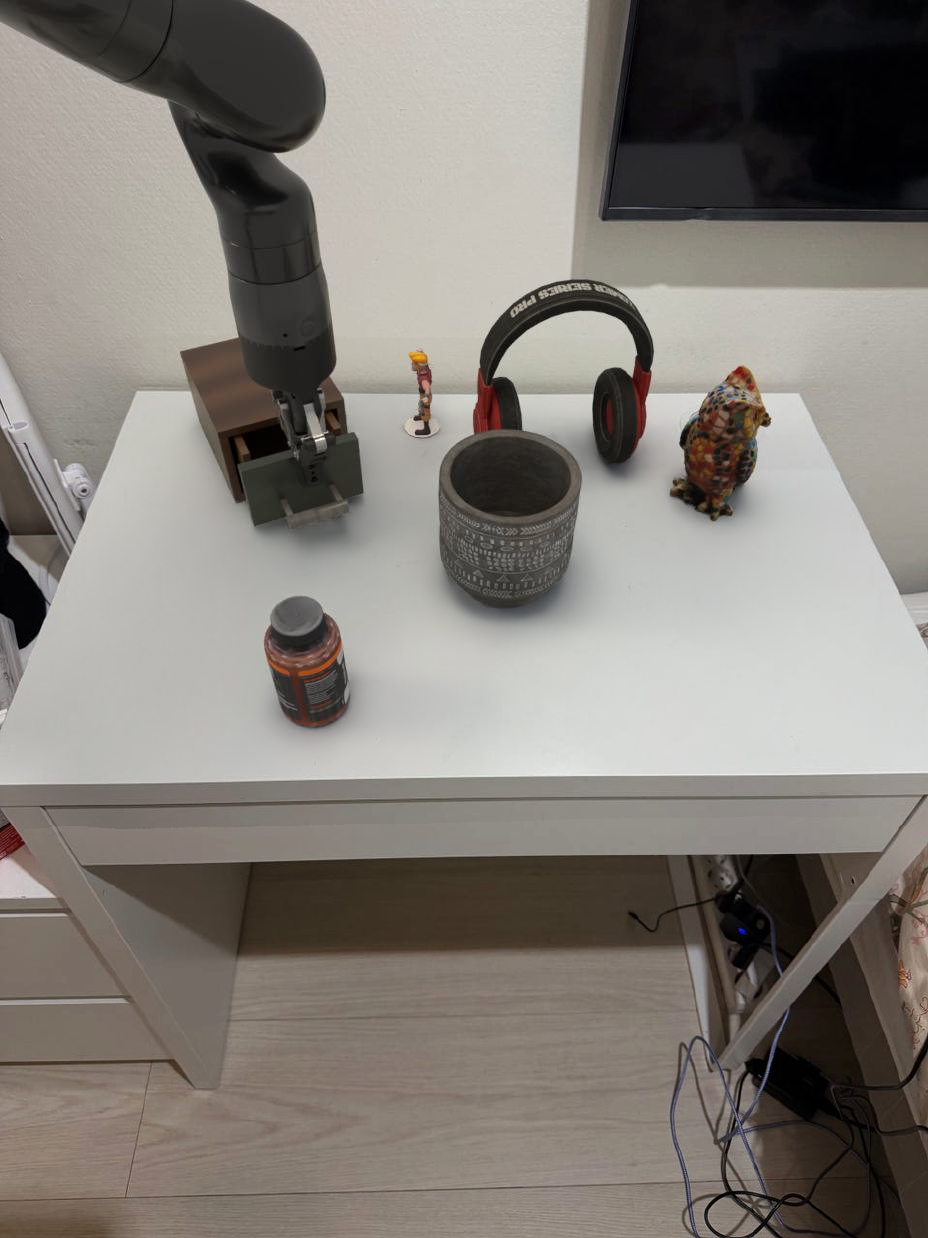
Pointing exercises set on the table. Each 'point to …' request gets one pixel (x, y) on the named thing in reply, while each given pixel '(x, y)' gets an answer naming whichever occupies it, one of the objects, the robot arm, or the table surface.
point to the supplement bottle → (306, 662)
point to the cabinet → (236, 402)
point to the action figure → (422, 398)
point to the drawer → (295, 476)
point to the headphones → (615, 389)
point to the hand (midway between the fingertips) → (311, 481)
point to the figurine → (721, 444)
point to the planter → (507, 515)
